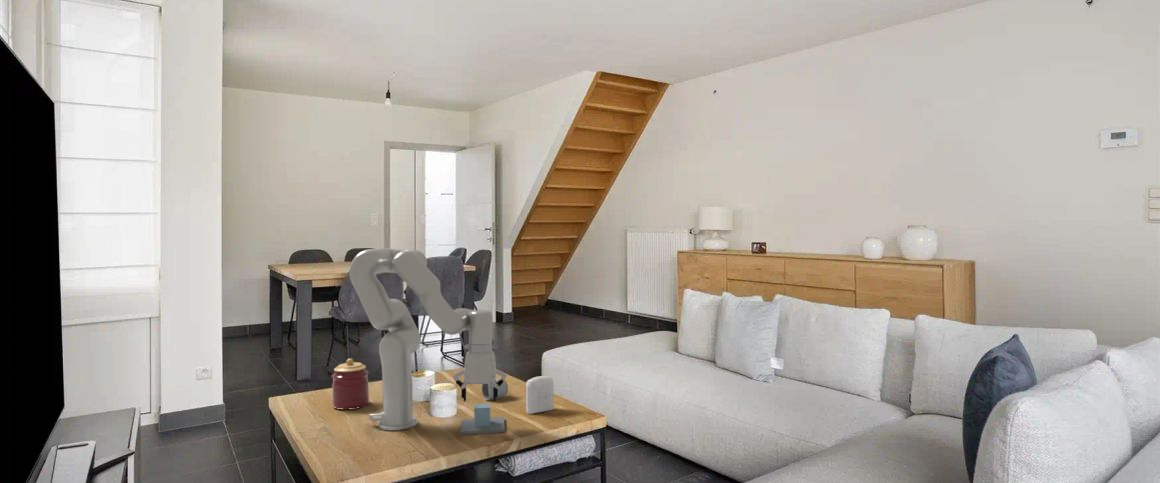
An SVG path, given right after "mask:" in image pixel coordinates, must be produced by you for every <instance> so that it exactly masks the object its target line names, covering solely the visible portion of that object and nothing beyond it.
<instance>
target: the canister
mask: <svg viewBox="0 0 1160 483" xmlns="http://www.w3.org/2000/svg"><path fill="white" fill-rule="evenodd" d="M366 368H367V366H366V365H365V364H363V363H362V362H356V361H354V359H353V358H348V359H346V362H344V363H340V364H338V365H337V366H336V367H334V369H333V370H334V373H333V374H332V375H331V378H332V379H333V380H332V381H333V382H332V384H331V386H332V401H331V402H332V404H331V405H332V406H334V407H336V408H343V409H349V408H357V407H361V408H363V407H362V406H364V407H366V406H368V405H369V404H368V403H369V402H370V396H369V392H370V391H369V380H368V375H369V373H370V372H369V371H368V370H366ZM367 404H368V405H367ZM365 405H366V406H365ZM334 407H333V408H334ZM357 409H358V408H357Z"/></svg>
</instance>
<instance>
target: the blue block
mask: <svg viewBox="0 0 1160 483" xmlns="http://www.w3.org/2000/svg"><path fill="white" fill-rule="evenodd" d="M473 408H474V411H473V412H474V413H473V414H474V419H475V427H482V426H490V418H491V403H477V404H474V406H473Z"/></svg>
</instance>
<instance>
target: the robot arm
mask: <svg viewBox="0 0 1160 483" xmlns="http://www.w3.org/2000/svg"><path fill="white" fill-rule="evenodd" d="M427 265H428V260H427V257H426V255H425V254H424V253H423V252H422V251H420V250H418V249H417V250H416V249H401V248H388V247H380V248H379V247H378V248H369V249H368V248H367V249H365V250H362V251H360V252H359V253H357V254H356V255H355V256H354V258H353V259H352V261H351V263H350V265H349V279H350V282H351V285H352V286H353V288H354V290H355V292H356V295H357V296H358V298H359V301H360V303H361V305H362V307H363V309H364V312H365V313H366V314H365V315H366V316H367V318H368V320H369V322H370V324H371V325H372V327H373V328H374V329H376V330H378V331H385V330H388V332H387V334H385V335H384V336H383V337H382V338H381V340H380V342H379V346H378V353H379V358H380V363H381V364H380V365H381V374H382V375H381V376H382V378H381V380H382V408H383V410H382V412H379V413H370V414H369V420H370V421H372V422H378V421H379V422H378V428H379V429H380V430H384V431H402V430H407V429H410V428H413V427H415V426H417V425H418V424H419V420H418V419H419V418H417V417H415V416H414V408H413V406H414V404H413V373H412V372H413V371H412V370H413V369H412V363H411V360H410V355H411V354H412V353H415V352H416V351H417V350H418V349H419V348H420V347H421V346H420V345H421V340H422V339H421V334H420V332H419V329H418V327H417V325H416V323H415V321H414V319H413V316H412V314H411V312H410V311H409V308H408V307H407V306H406V304H405V303H404V302H403V301H401V300H400V299H397V298H390V297H389V295H388V293H387V292H386V289H385V287H384V285H383V284H382V283H381V282H380V280H379V279H378V278H377V274H378V275H379V274H384V273H389V274H397V275H398V277H400V278H401V279H402V281H404V283H405V284H406V285H407V286H408V287H409V288H410V289H411V290H412V292H413V293H414V294H416V296H417V297H418V298H419V300H420V303H421V304H422V307H423V308H424V311H425V312H426V314H427V315H428V317H429V318H430V319H431V320H432V322H433V323H435V325H436V326H437V327H438V328H439V329H440V330H441V331H442V332H444V333H446V334H447V335H451V336H453V335H458V334H460V333H462V332H464V331H468V343H467V344H464V345H463V346H464V349H465V350H467V352H466V353H465V354H466V355H465V358H464V368H463V369H462V370H460V371H457V372H456V373H454V374H453V376H452V378H453V379H454V381H455V384H456V385H457V386H458V387H459V388H460V389H461V396H460V397H461V399H463V402H466V401H467V385H482V384H491V383H492V385H493V386H494V387H493V399H492V400H493V401H496V399H495V398H496V397H498V388H499V386H500V385H501V384H502V383H503V382H504V380H505V381H506V379H507V375H508V374H506V373H505V372H504V371H501V370H499V369H497V368H496V366H497V365H496V354H495V351H493V321H494V320H493V313H492V311H490V310H486V309H471V308H470V309H468V308H464V307H459V308H456V309H453V307H451V305H450V304H449V303H448V302H447V301H446V299H445V298H444V296H443V294H442V292H441V282H440V280H439V279H438V277H437V276H436V275H435V274H434V273H433V272H432V271H431V270H430V269H429V268H428V266H427ZM461 376H463V382H462V381H461V379H460V378H459V377H461ZM497 376H500V378H499V379H500V380H499V381H498V382H496V380H495V379H497Z"/></svg>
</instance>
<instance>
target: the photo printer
mask: <svg viewBox="0 0 1160 483" xmlns="http://www.w3.org/2000/svg"><path fill="white" fill-rule="evenodd" d="M552 410H554V381H553V378H552V377H551V376H547V375H541V376H540V375H539V376H535V377H532V378H530V379H527V381H526V382H525V411H526V413H527V414H529V415H532V414H538V413H543V412H548V411H552Z"/></svg>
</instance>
